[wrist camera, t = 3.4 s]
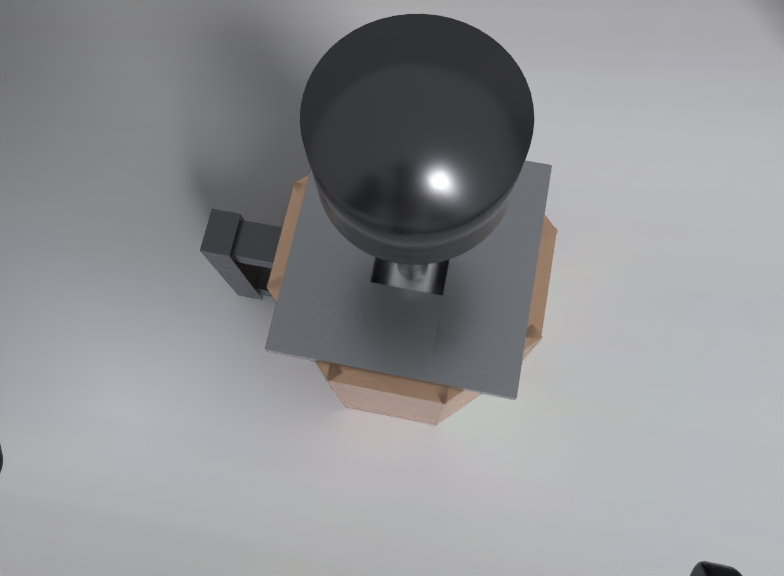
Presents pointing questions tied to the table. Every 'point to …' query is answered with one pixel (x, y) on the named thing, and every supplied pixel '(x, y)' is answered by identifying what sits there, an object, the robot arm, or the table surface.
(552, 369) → the table surface
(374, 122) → the plunger
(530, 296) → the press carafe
